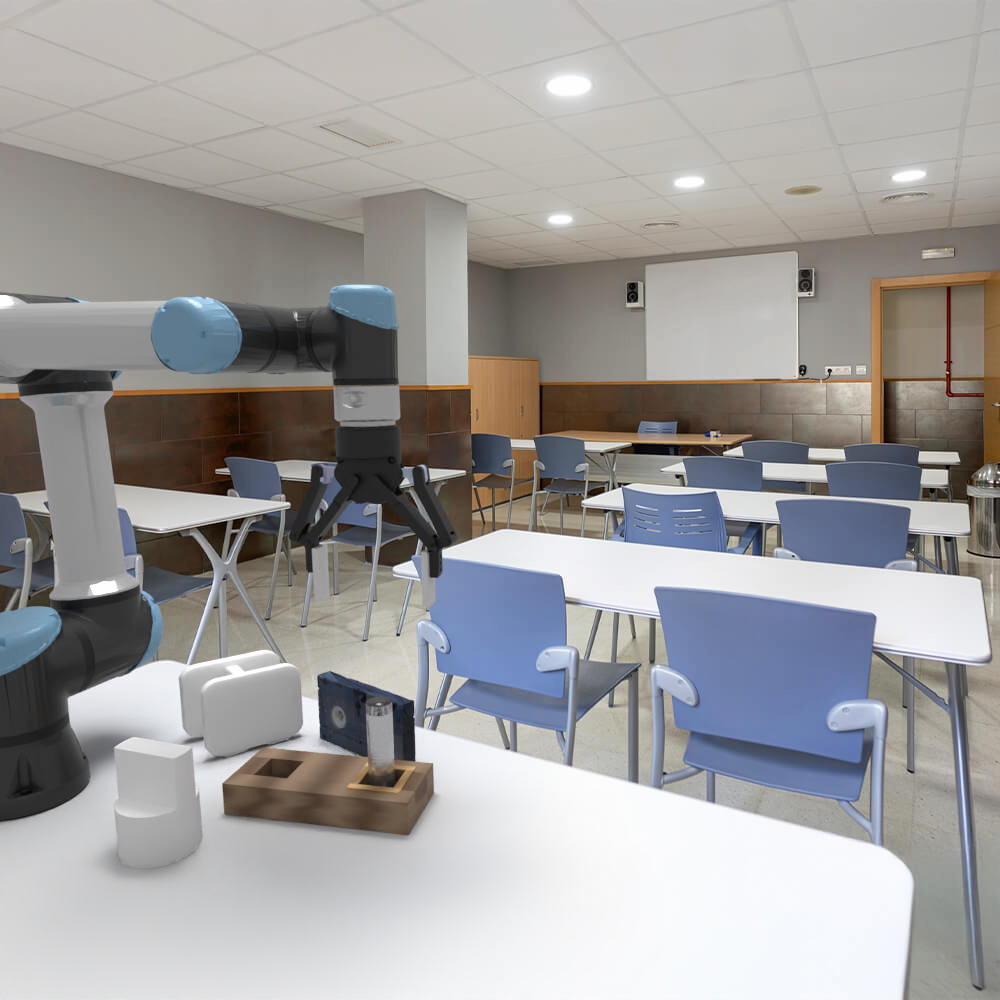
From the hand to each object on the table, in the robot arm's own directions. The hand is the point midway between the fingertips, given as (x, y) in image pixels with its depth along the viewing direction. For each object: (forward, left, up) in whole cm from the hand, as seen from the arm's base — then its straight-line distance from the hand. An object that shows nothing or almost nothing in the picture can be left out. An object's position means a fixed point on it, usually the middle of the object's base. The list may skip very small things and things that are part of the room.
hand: (374, 601), depth 97 cm
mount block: (-7, 0, -26) cm, 27 cm away
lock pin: (0, 0, -27) cm, 27 cm away
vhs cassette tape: (-8, +14, -27) cm, 31 cm away
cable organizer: (-28, +15, -27) cm, 42 cm away
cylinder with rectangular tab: (-22, -13, -27) cm, 37 cm away
